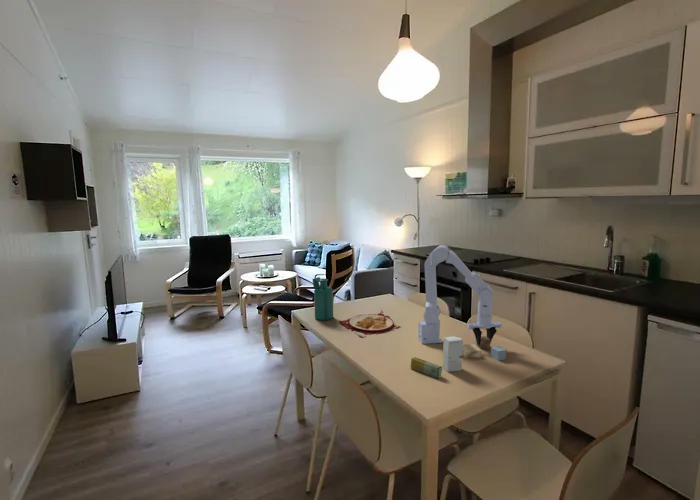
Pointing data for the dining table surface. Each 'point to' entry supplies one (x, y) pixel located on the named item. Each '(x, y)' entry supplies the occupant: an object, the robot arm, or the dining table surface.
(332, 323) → the dining table surface
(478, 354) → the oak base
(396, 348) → the dining table surface
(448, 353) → the skincare box
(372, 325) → the plate with food
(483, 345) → the walnut block
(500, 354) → the slate block
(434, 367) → the medication box
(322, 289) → the green tall canister
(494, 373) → the dining table surface
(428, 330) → the robot arm
